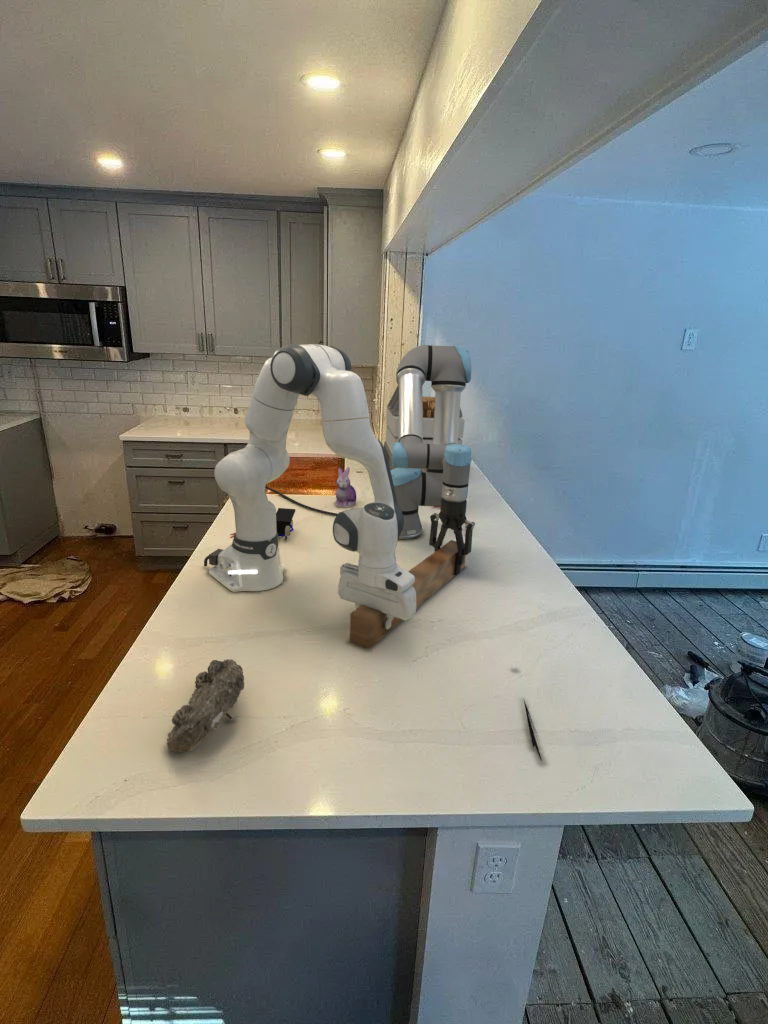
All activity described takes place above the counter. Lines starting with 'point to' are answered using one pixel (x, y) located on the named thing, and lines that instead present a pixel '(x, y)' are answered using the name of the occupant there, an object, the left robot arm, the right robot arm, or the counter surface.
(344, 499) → the figurine
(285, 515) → the figurine character
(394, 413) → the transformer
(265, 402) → the left robot arm
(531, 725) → the feather
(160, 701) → the counter surface
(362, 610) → the bar
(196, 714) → the fossil
